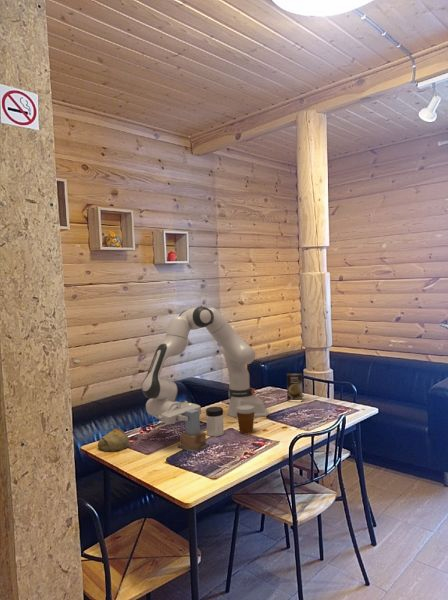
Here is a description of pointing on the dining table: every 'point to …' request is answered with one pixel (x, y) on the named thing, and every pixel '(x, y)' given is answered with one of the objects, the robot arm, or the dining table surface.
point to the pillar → (192, 422)
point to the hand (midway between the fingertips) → (193, 416)
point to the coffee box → (294, 386)
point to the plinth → (193, 441)
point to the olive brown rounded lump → (114, 441)
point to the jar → (214, 421)
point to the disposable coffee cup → (245, 418)
